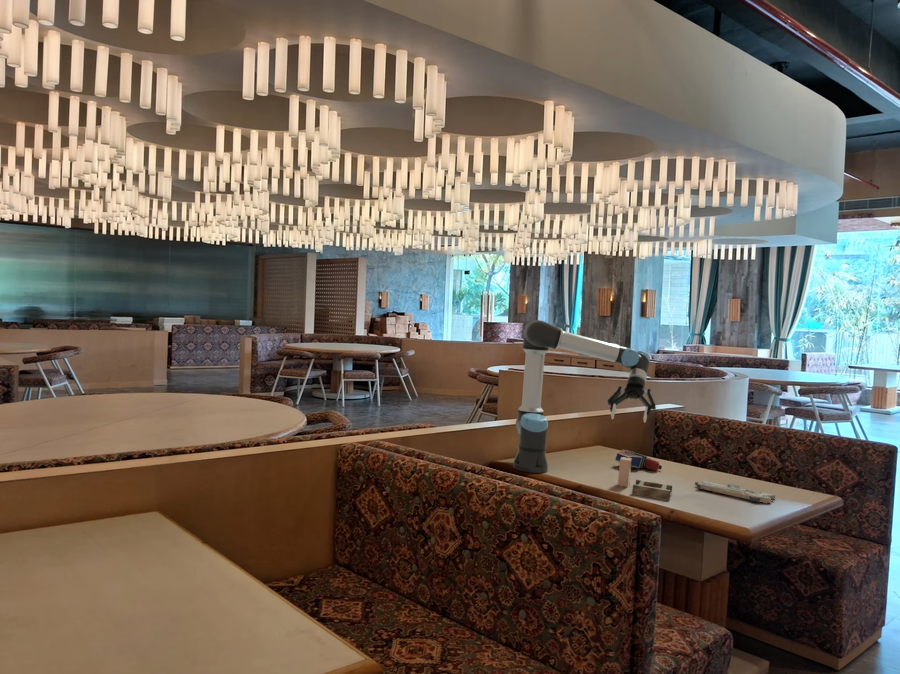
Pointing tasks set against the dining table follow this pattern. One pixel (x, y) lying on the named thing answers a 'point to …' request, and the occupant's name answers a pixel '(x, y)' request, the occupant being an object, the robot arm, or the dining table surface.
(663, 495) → the rack
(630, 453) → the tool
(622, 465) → the strip
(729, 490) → the grey flat slab
